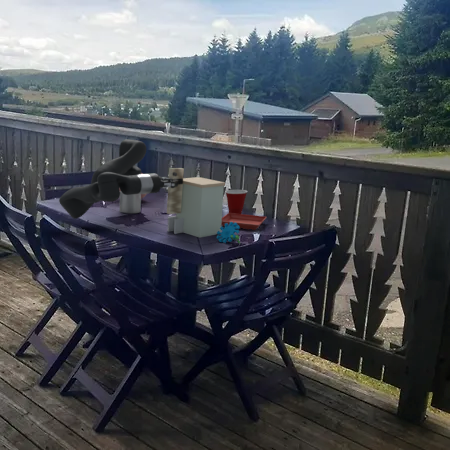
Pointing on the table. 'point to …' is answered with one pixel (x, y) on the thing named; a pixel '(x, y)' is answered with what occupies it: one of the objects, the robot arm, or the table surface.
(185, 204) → the cabinet
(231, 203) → the plastic cup
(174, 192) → the tall wooden plank
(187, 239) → the table surface
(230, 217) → the plant saucer
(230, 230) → the gear
